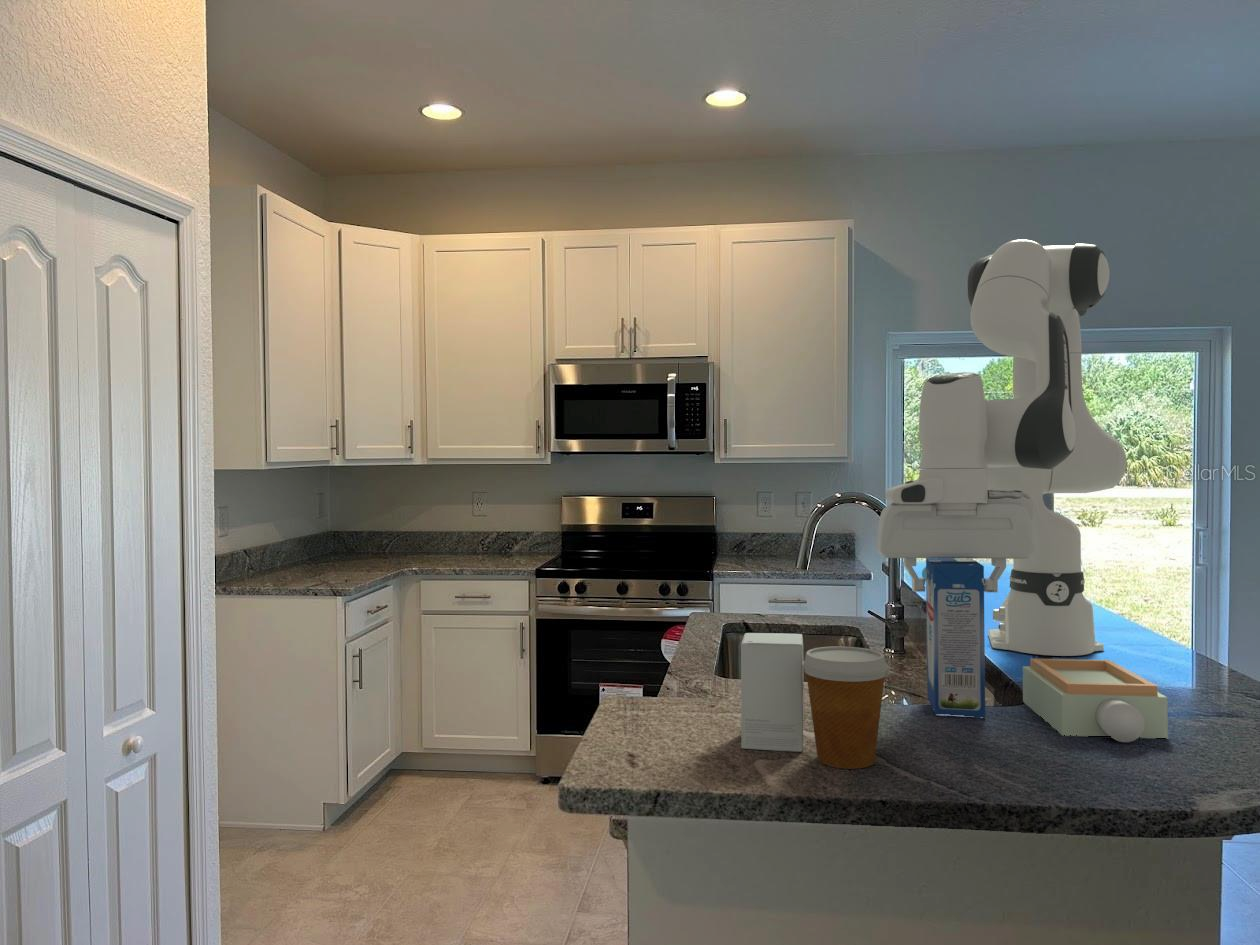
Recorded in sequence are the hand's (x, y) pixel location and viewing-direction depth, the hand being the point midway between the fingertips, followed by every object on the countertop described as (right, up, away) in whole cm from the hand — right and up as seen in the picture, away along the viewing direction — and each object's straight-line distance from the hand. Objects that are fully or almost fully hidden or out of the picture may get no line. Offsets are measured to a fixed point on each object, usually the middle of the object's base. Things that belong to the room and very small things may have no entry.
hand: (954, 591), depth 122 cm
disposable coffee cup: (-20, -16, -21) cm, 33 cm away
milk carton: (0, -16, 0) cm, 16 cm away
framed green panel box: (+15, -16, -7) cm, 23 cm away
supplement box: (-27, -17, -14) cm, 35 cm away
